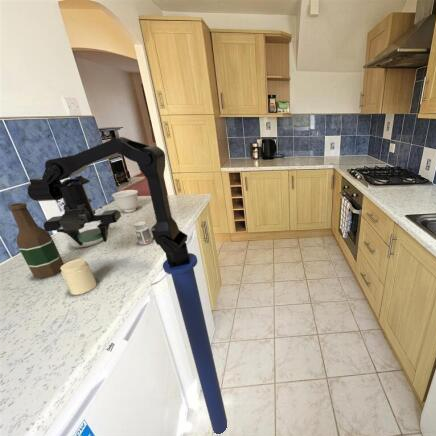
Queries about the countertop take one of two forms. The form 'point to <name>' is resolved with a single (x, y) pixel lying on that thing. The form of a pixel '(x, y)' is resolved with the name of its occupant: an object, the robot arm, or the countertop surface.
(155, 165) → the robot arm
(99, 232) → the jar lid
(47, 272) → the beer bottle
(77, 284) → the jam jar
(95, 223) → the ramekin
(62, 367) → the countertop surface
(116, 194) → the teacup
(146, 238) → the pill bottle
